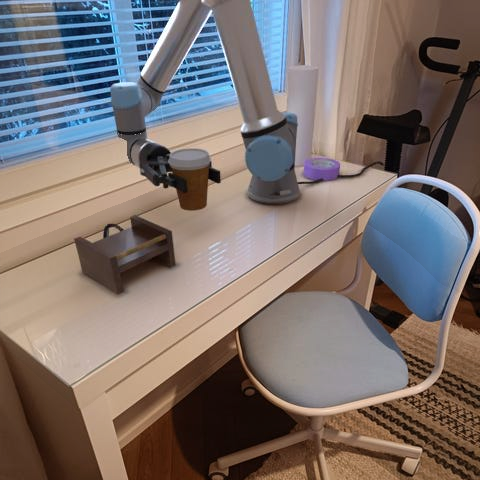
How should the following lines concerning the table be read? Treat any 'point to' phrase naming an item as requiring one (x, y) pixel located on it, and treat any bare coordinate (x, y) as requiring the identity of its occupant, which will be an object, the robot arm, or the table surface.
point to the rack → (125, 252)
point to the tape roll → (321, 169)
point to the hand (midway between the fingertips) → (202, 181)
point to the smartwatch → (106, 229)
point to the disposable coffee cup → (192, 176)
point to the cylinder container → (303, 107)
